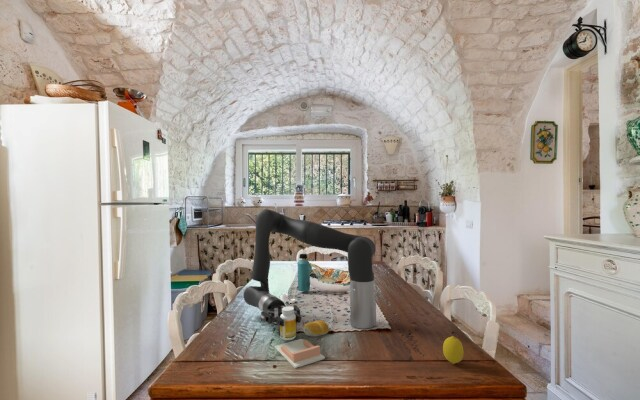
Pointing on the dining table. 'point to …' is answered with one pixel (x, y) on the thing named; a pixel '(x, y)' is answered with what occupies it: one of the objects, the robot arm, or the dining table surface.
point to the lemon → (453, 350)
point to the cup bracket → (300, 352)
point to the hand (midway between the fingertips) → (291, 321)
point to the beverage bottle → (303, 274)
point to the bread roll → (316, 328)
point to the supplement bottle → (288, 324)
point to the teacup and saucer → (286, 298)
